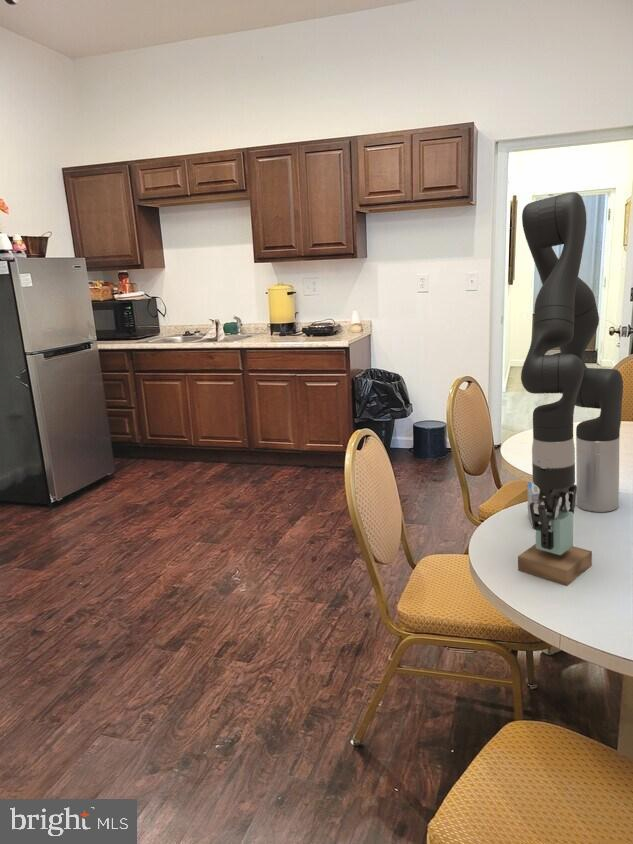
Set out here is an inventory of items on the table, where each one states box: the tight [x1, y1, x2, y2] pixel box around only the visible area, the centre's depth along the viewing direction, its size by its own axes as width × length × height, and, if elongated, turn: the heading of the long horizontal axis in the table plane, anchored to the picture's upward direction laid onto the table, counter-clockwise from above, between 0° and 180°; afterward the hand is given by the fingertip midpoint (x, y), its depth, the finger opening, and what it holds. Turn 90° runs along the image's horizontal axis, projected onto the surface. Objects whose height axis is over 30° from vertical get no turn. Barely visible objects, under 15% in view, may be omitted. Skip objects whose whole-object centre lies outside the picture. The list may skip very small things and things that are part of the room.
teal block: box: [535, 511, 574, 555], centre depth 118 cm, size 5×5×7 cm
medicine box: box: [526, 481, 540, 528], centre depth 140 cm, size 8×4×9 cm, turn 168°
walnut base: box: [517, 543, 593, 587], centre depth 119 cm, size 10×10×3 cm
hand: (554, 542), depth 119 cm, fingers closed on teal block, 5 cm apart
